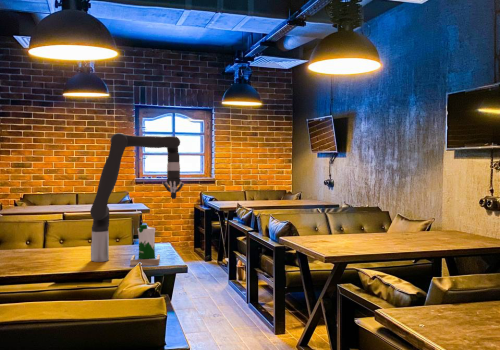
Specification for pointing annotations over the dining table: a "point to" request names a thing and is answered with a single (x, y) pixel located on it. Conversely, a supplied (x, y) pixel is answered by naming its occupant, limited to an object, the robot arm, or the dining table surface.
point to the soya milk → (146, 242)
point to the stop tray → (145, 261)
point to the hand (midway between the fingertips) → (173, 198)
